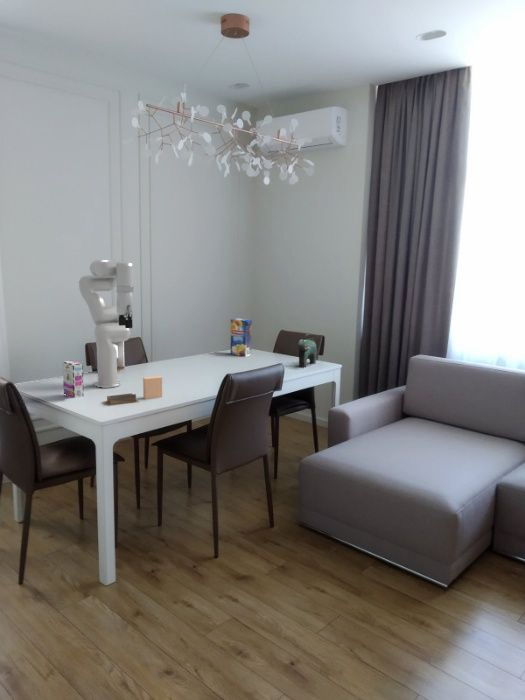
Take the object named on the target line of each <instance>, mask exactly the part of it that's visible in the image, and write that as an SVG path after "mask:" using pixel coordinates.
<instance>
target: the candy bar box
mask: <svg viewBox="0 0 525 700" xmlns="http://www.w3.org/2000/svg"><path fill="white" fill-rule="evenodd" d="M83 366H84V364H83V363H82V362H78V361H76V360H75V361H74V360H73V359H72V360H65V361H62V380H63V381H62V382H63V395H64V394H66V395H68V396H67V397H71V398H73V399H74V398H82V397H84V367H83Z"/></svg>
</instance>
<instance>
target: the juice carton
mask: <svg viewBox="0 0 525 700" xmlns="http://www.w3.org/2000/svg"><path fill="white" fill-rule="evenodd" d="M252 322H253V320H252V319H248V318H232V319H230V356H236V355H238V357H244V356H246V357H249V355H250V356H252V330H253V329H252V324H253V323H252Z"/></svg>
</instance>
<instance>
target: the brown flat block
mask: <svg viewBox="0 0 525 700" xmlns="http://www.w3.org/2000/svg"><path fill="white" fill-rule="evenodd" d="M103 403H104V404H106V406H109V407H110V406H112V407H113V406H120V405H126V404H127V405H128V404H134V403H135V404H136V403H140V401H139V400H138V399H137V394H136V393H122V394H114V395H107V396H106V400H104V401H103Z"/></svg>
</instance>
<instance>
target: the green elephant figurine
mask: <svg viewBox="0 0 525 700" xmlns="http://www.w3.org/2000/svg"><path fill="white" fill-rule="evenodd" d="M307 336H308V337H309V336H310V334H309V333H306V334H305V337H304V338H303V339H300V340H299V341H298V343H297V346H298V347H297V348H298V367H299V368H301V369H302V368H303V369H304V368H307V361H308V358H309V364H312V365H314V364H316V361H317V356H318V349H317V344H316V342H315V339H314V338H313V337H312V338H308V339H307V338H306V337H307Z"/></svg>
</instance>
